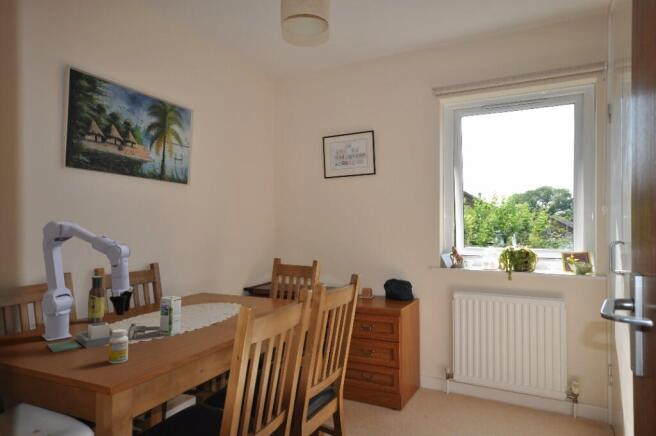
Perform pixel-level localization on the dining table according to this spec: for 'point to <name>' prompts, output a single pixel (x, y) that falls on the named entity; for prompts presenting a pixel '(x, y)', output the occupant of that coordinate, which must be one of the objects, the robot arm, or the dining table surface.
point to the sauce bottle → (96, 300)
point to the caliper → (139, 330)
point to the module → (98, 330)
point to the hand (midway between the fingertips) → (122, 313)
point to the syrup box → (170, 315)
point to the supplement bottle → (118, 346)
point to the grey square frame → (88, 343)
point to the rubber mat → (63, 346)
